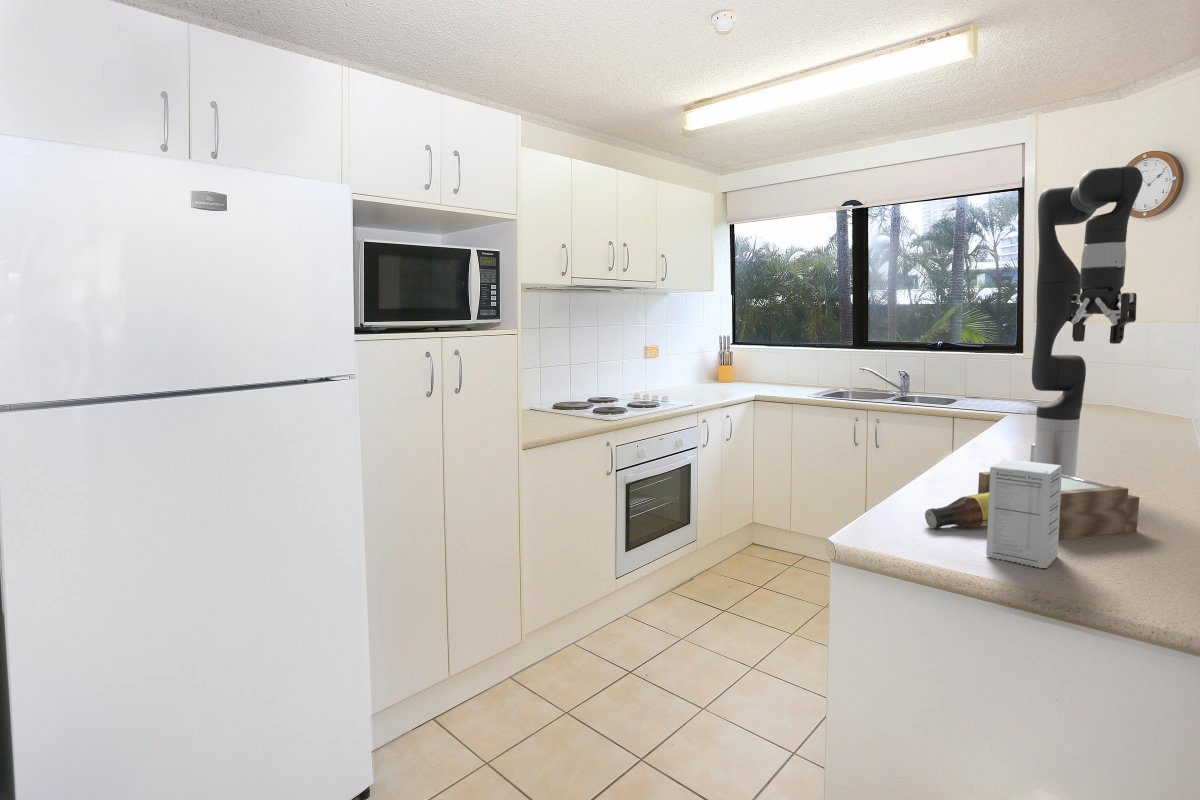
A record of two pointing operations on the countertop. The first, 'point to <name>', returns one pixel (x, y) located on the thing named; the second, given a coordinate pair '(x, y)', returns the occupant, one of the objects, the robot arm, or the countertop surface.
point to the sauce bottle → (961, 512)
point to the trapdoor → (1078, 483)
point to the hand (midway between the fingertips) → (1096, 342)
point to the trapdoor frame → (1090, 510)
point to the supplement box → (1024, 512)
